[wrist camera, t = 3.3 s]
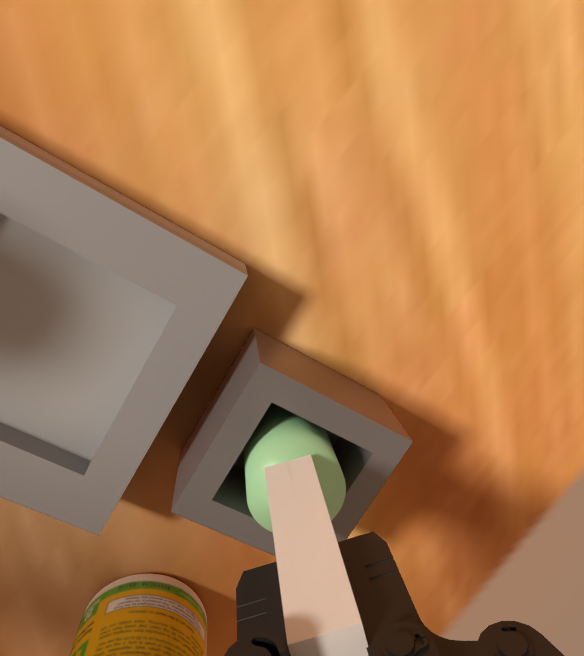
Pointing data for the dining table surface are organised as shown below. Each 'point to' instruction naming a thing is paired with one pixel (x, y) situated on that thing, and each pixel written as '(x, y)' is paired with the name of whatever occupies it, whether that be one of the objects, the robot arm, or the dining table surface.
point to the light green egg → (287, 444)
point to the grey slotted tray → (92, 331)
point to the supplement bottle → (143, 619)
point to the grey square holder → (303, 400)
